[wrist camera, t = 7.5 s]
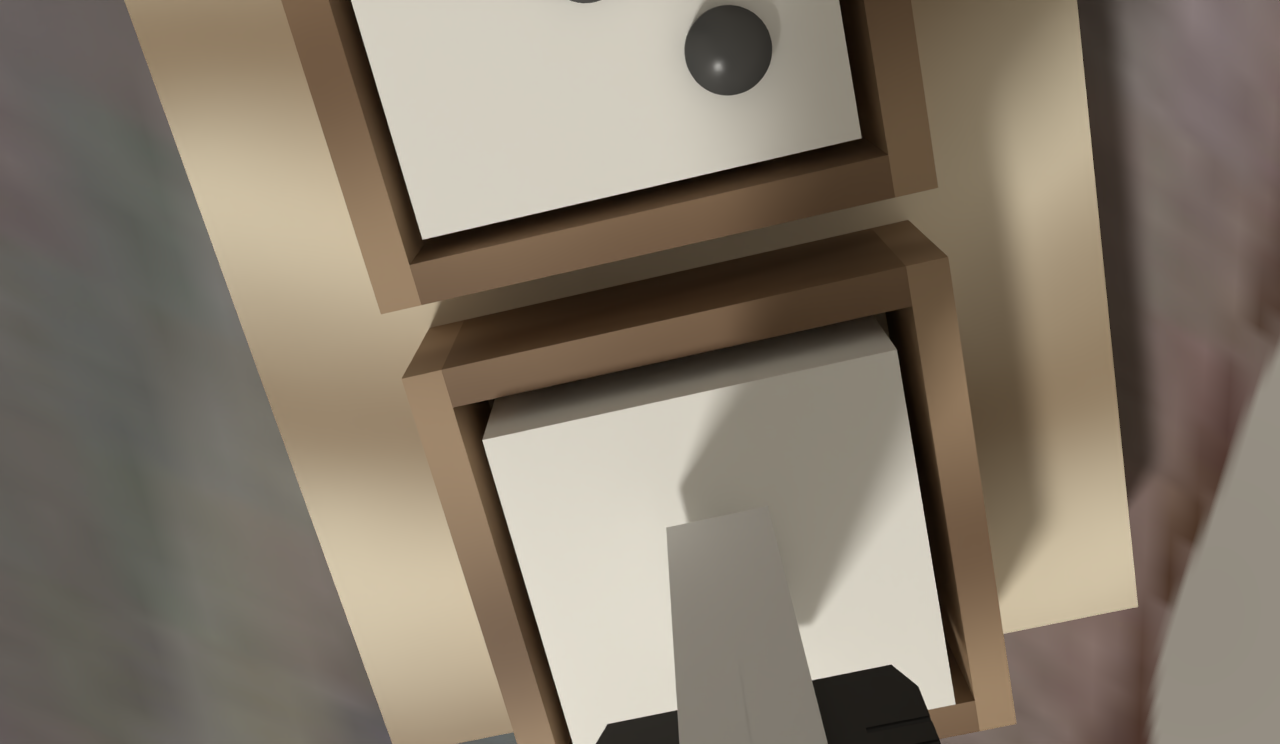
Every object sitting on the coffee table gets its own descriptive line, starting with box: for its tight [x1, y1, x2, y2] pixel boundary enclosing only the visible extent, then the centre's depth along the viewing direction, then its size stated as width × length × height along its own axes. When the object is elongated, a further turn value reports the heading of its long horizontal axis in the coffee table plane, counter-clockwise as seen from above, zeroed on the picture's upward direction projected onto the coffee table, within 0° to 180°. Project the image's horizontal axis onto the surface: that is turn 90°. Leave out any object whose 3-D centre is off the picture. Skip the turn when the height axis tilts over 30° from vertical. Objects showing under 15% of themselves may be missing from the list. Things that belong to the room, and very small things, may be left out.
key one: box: [482, 315, 955, 744], centre depth 18 cm, size 6×6×3 cm
